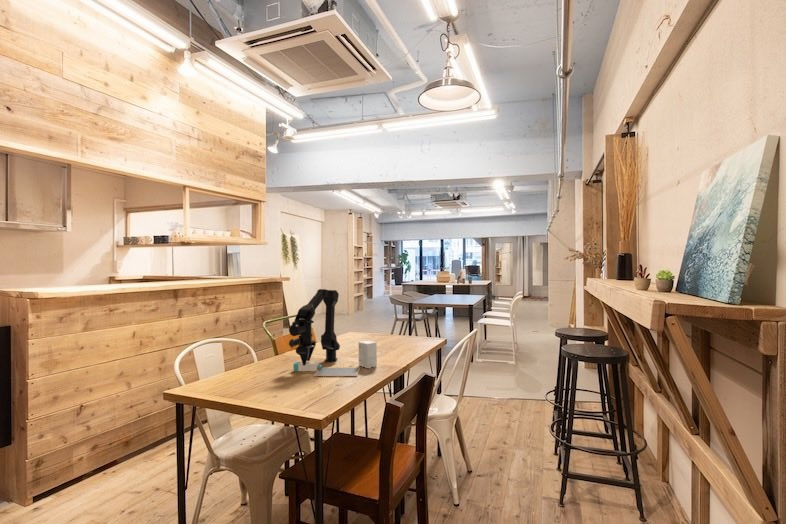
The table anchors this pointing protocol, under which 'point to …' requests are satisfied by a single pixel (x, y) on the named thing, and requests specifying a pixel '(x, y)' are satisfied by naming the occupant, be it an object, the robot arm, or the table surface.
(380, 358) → the table surface
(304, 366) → the marker
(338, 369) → the slate board
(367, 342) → the small box
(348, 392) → the table surface
